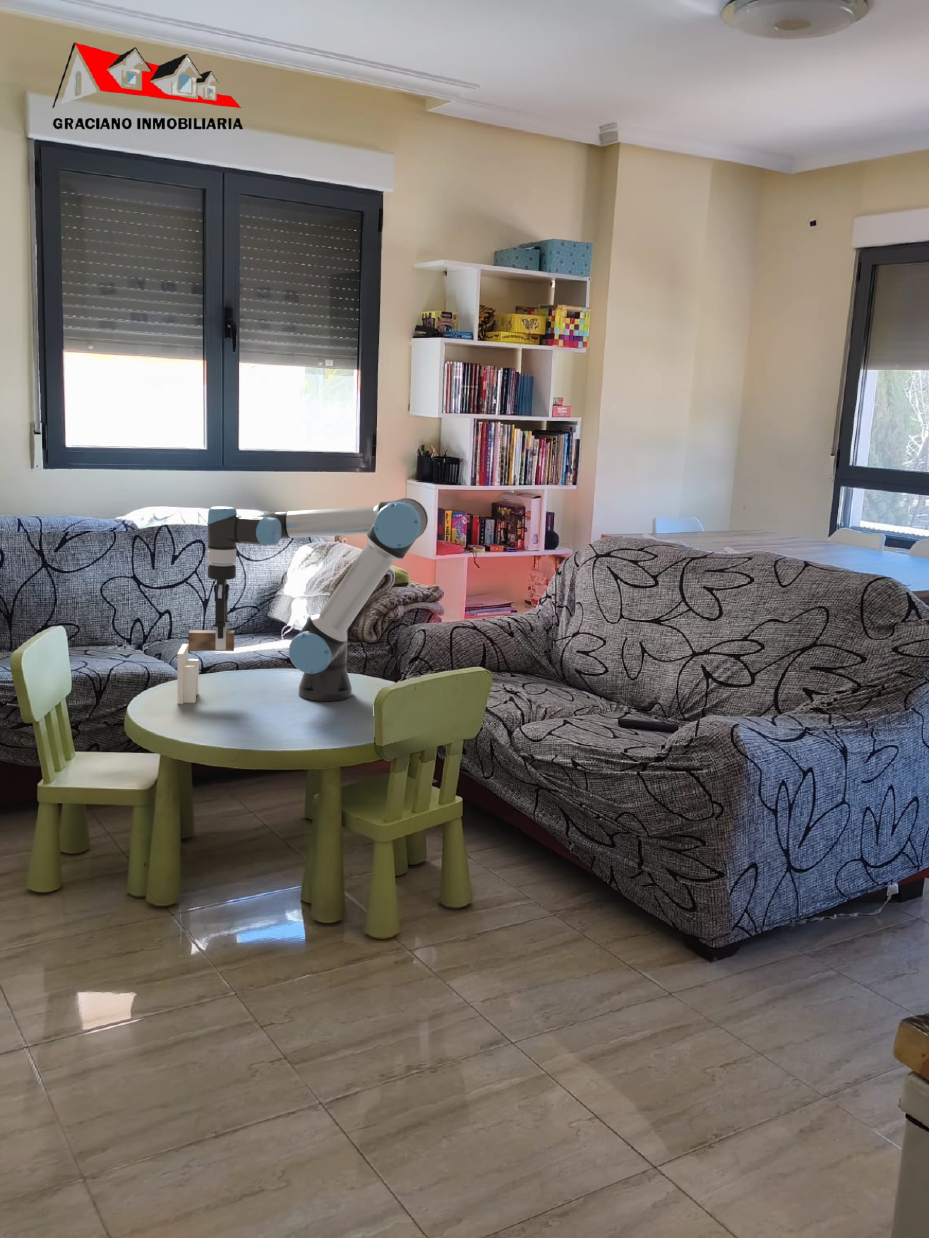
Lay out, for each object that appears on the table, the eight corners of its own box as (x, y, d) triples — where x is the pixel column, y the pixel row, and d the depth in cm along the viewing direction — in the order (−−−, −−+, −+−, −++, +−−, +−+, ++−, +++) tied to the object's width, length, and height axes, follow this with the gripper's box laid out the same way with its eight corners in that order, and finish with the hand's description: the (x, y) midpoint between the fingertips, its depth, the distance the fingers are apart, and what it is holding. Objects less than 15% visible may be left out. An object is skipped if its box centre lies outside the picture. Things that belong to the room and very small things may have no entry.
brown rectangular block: (188, 650, 298) (188, 632, 297) (189, 647, 301) (189, 630, 300) (233, 651, 300) (233, 633, 299) (234, 648, 303) (234, 630, 302)
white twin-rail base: (198, 692, 309) (199, 644, 306) (194, 704, 297) (194, 654, 294) (182, 692, 308) (182, 643, 305) (177, 703, 296) (177, 653, 294)
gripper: (210, 558, 304) (210, 640, 308) (204, 568, 288) (204, 654, 292) (237, 559, 305) (237, 641, 309) (233, 569, 289) (233, 655, 293)
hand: (221, 647), depth 301 cm, fingers closed on brown rectangular block, 3 cm apart
